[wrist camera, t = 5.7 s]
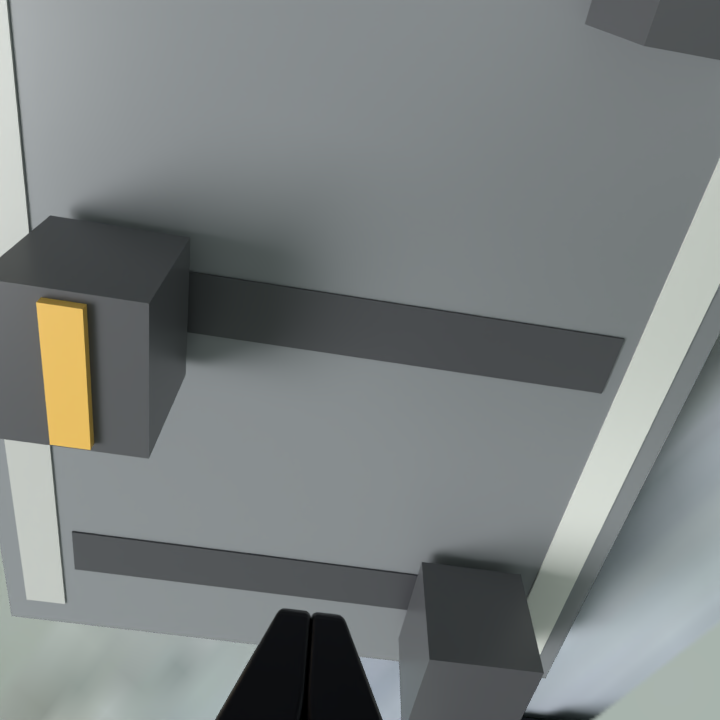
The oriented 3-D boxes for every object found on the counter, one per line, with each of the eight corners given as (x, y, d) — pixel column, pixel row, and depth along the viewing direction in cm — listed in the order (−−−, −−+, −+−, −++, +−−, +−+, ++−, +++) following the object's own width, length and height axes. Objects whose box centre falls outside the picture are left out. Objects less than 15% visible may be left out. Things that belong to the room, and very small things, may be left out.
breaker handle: (186, 374, 17) (146, 465, 14) (61, 357, 16) (-6, 445, 14) (190, 237, 15) (145, 308, 12) (50, 215, 15) (-30, 282, 12)
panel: (533, 628, 25) (571, 789, 20) (37, 567, 24) (-47, 723, 19) (942, -257, 12) (1310, -390, 7) (-95, -492, 11) (-459, -834, 6)
